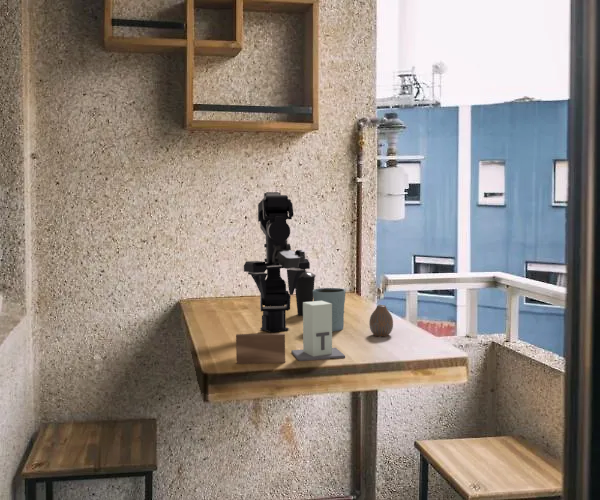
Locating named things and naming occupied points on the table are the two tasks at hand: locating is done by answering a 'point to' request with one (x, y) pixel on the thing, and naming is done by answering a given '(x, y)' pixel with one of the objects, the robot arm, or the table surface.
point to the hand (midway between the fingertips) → (277, 296)
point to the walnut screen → (260, 348)
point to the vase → (381, 321)
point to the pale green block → (317, 328)
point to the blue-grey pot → (333, 304)
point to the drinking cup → (304, 290)
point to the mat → (304, 356)
